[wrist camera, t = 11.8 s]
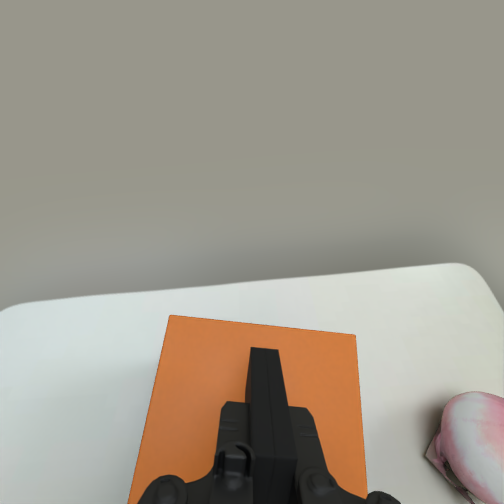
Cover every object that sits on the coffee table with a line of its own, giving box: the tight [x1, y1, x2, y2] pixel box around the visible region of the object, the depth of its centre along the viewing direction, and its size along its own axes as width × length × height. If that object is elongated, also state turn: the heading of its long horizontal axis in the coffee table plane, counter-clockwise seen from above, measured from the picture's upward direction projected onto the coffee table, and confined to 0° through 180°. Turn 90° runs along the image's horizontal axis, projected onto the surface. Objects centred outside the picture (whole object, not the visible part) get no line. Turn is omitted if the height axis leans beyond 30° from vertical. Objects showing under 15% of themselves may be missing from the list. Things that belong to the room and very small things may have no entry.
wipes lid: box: [127, 315, 368, 504], centre depth 17 cm, size 16×13×1 cm
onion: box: [426, 391, 504, 504], centre depth 23 cm, size 8×8×7 cm
